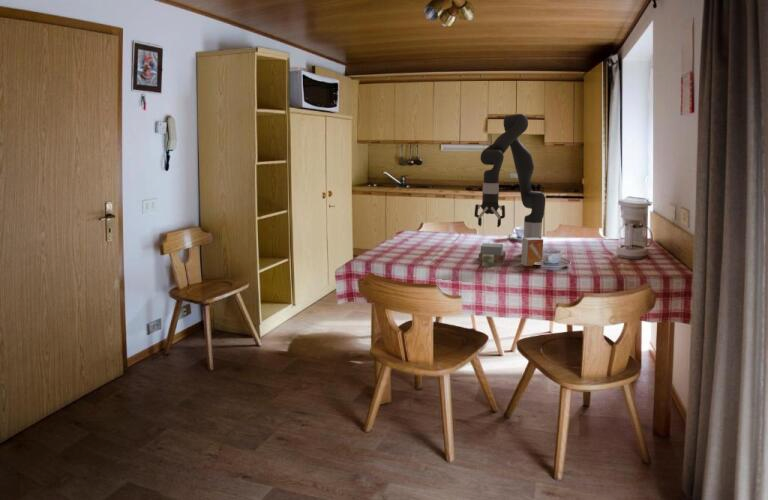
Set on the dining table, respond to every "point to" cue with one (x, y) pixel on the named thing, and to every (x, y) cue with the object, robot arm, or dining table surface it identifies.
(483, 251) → the slate top block
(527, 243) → the small box
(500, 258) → the walnut base block
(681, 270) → the dining table surface
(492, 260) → the sage cube
